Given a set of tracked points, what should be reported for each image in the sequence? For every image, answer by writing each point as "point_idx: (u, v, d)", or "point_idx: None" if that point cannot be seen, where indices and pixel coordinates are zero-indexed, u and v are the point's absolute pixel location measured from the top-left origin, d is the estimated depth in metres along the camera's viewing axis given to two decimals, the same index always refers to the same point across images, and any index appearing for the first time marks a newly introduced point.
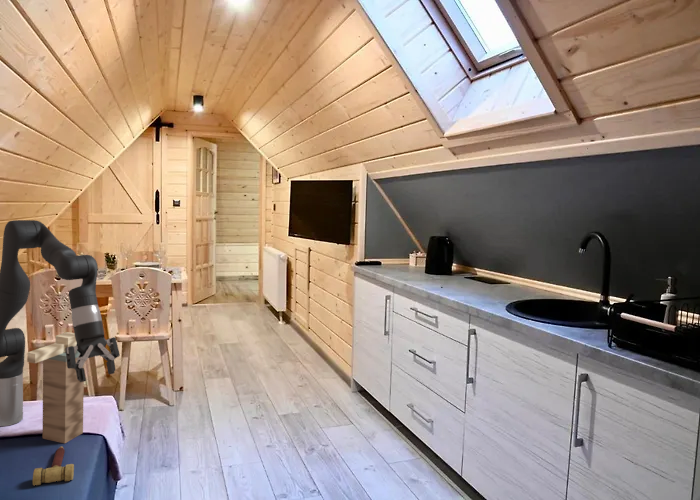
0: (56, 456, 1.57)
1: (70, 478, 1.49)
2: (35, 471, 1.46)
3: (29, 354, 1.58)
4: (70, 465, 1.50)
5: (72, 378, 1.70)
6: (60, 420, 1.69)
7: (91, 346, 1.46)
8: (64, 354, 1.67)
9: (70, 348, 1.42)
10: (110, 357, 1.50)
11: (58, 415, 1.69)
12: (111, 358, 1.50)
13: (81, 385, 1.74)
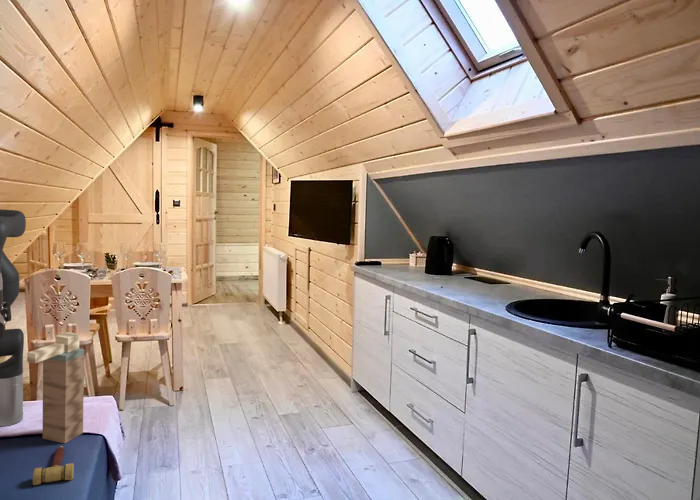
0: (56, 456, 1.57)
1: (70, 477, 1.49)
2: (35, 471, 1.46)
3: (29, 354, 1.58)
4: (70, 464, 1.50)
5: (72, 378, 1.70)
6: (60, 420, 1.69)
7: None
8: (64, 354, 1.67)
9: None
10: (3, 322, 1.52)
11: (58, 415, 1.69)
12: (3, 323, 1.52)
13: (81, 385, 1.74)
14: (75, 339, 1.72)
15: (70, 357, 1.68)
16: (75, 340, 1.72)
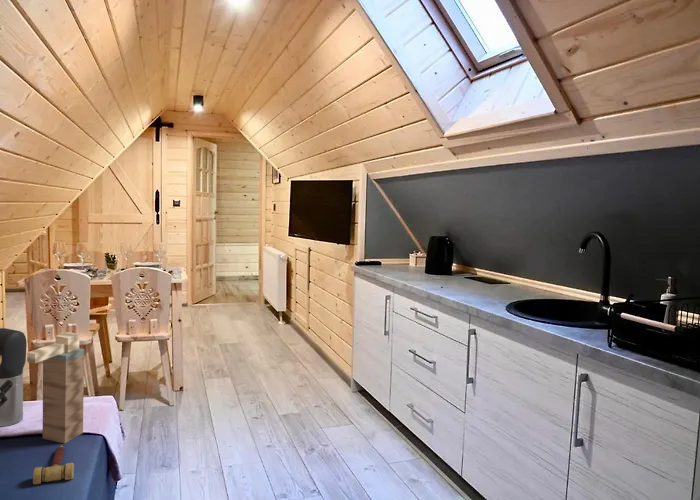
0: (56, 455, 1.58)
1: (70, 477, 1.49)
2: (35, 470, 1.46)
3: (29, 354, 1.58)
4: (70, 464, 1.51)
5: (72, 378, 1.70)
6: (60, 420, 1.69)
7: None
8: (64, 354, 1.67)
9: None
10: None
11: (58, 415, 1.69)
12: None
13: (81, 385, 1.74)
14: (75, 339, 1.72)
15: (70, 357, 1.68)
16: (75, 340, 1.72)
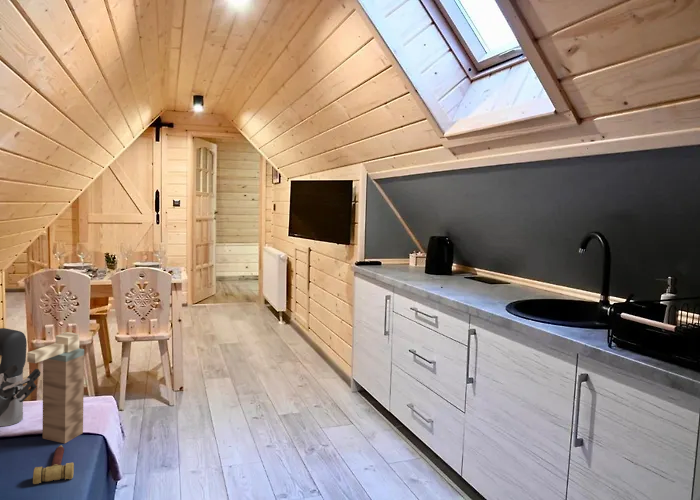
0: (56, 455, 1.58)
1: (70, 477, 1.49)
2: (35, 470, 1.47)
3: (29, 354, 1.58)
4: (70, 464, 1.51)
5: (72, 378, 1.70)
6: (60, 420, 1.69)
7: (4, 388, 1.48)
8: (64, 354, 1.67)
9: (19, 395, 1.46)
10: (2, 376, 1.53)
11: (58, 415, 1.69)
12: (2, 374, 1.53)
13: (81, 385, 1.74)
14: (75, 339, 1.72)
15: (70, 357, 1.68)
16: (75, 340, 1.72)
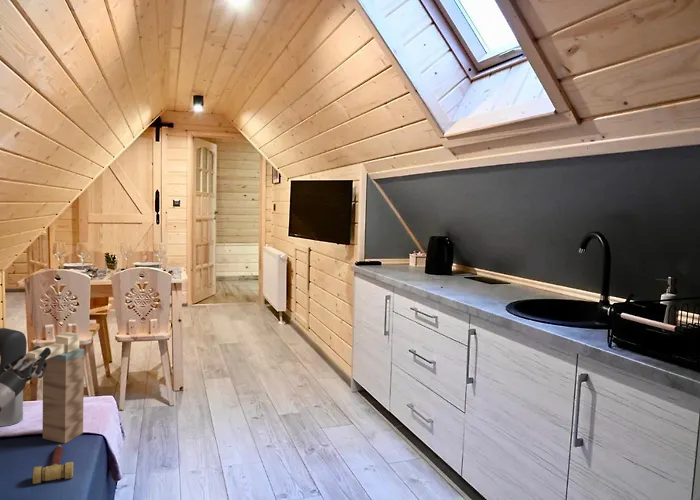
0: (55, 454, 1.58)
1: (70, 476, 1.50)
2: (35, 469, 1.47)
3: (29, 354, 1.58)
4: (70, 463, 1.51)
5: (72, 378, 1.70)
6: (60, 420, 1.69)
7: (21, 369, 1.53)
8: (64, 354, 1.67)
9: (38, 371, 1.54)
10: None
11: (58, 415, 1.69)
12: None
13: (81, 385, 1.74)
14: (75, 339, 1.72)
15: (70, 357, 1.68)
16: (75, 340, 1.72)
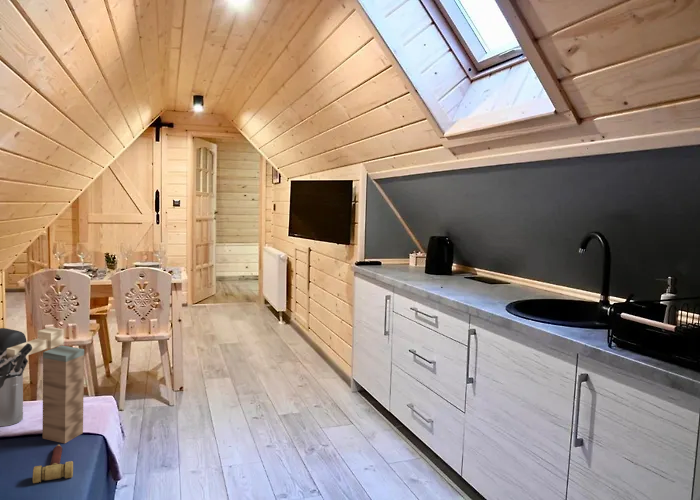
0: (54, 454, 1.58)
1: (70, 475, 1.50)
2: (35, 469, 1.47)
3: (8, 350, 1.50)
4: (70, 462, 1.51)
5: (72, 378, 1.70)
6: (60, 420, 1.69)
7: None
8: (64, 354, 1.67)
9: (17, 368, 1.45)
10: None
11: (58, 415, 1.69)
12: None
13: (81, 385, 1.74)
14: (59, 334, 1.64)
15: (70, 357, 1.68)
16: (59, 335, 1.64)
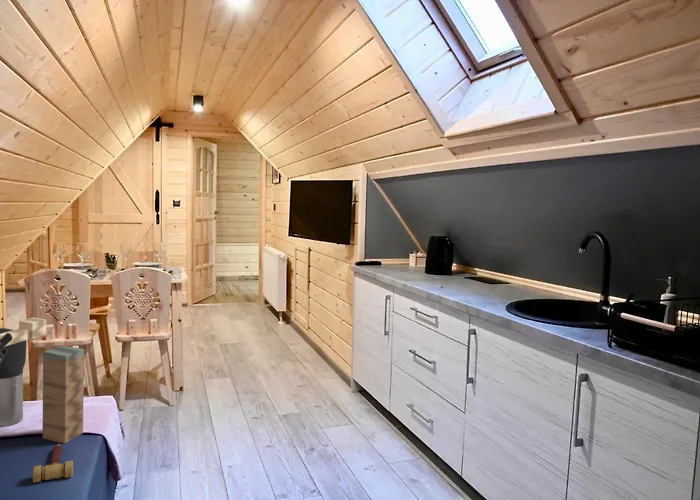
0: (54, 454, 1.58)
1: (70, 475, 1.50)
2: (35, 468, 1.47)
3: None
4: (70, 462, 1.52)
5: (72, 378, 1.70)
6: (60, 420, 1.69)
7: None
8: (64, 354, 1.67)
9: None
10: None
11: (58, 415, 1.69)
12: None
13: (81, 385, 1.74)
14: (41, 325, 1.58)
15: (70, 357, 1.68)
16: (41, 326, 1.58)
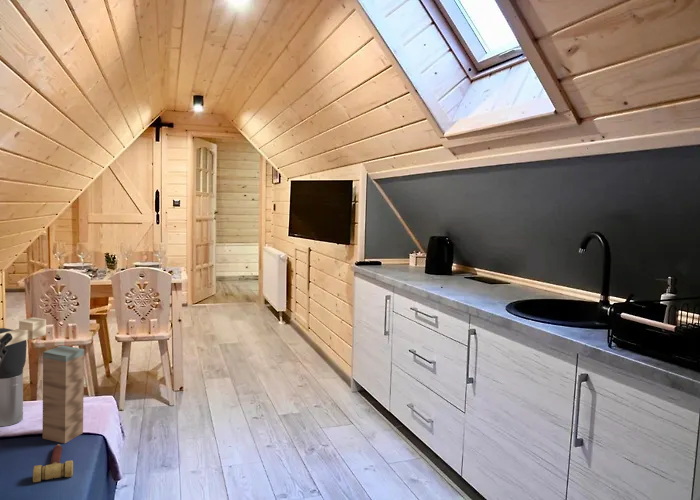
0: (54, 453, 1.59)
1: (70, 474, 1.51)
2: (35, 468, 1.47)
3: None
4: (70, 461, 1.52)
5: (72, 378, 1.70)
6: (60, 420, 1.69)
7: None
8: (64, 354, 1.67)
9: None
10: None
11: (58, 415, 1.69)
12: None
13: (81, 385, 1.74)
14: (41, 325, 1.58)
15: (70, 357, 1.68)
16: (41, 326, 1.58)
